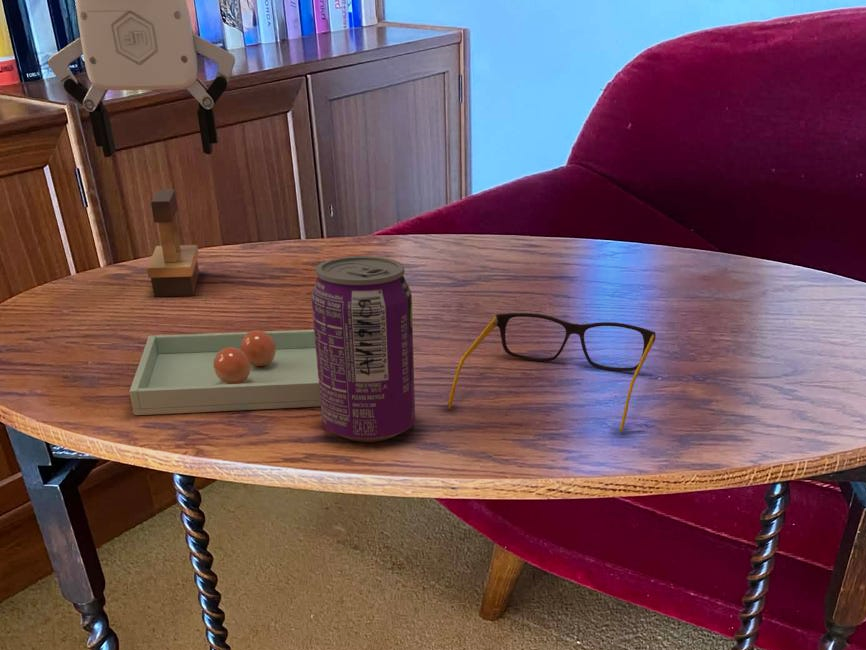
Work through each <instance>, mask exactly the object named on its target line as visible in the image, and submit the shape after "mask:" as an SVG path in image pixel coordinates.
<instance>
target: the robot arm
mask: <svg viewBox="0 0 866 650" xmlns="http://www.w3.org/2000/svg"><path fill="white" fill-rule="evenodd" d="M74 1H75V9H76V10H75V11H76V16H77V24H78V30H79V35H80V36H79V37H78V38H76V39H75V40H74V41H72V42H71V43H69V44H67V45H66V46H64V47H63V48H62V49H60V50H59V51H58V52H56V53H55V54H53V55H52V56H50V57H49V58H48V59H47V65H48V68H50V70H51V71H52V73H53V74H54V75H55V77H56V78H57V80H58V81H59V82H60V83H61V85H62V86H63V89H64V90H65V91H66V93H68V94H69V95H70V97H72V98H73V99H74V100H75V101H77V102H78V103H79V104H80V105H81V106H82V107H83V108H84V110H85V111H87V112H88V115H89V120H90V124H91V129H92V133H93V134H92V135H93V137H94V143H95V146H96V147H98V148H99V147H101V148H102V153H103V157H104V158H111V157H113V155H114V154H115V152H116V144H115V138H114V135H113V129H112V124H111V120H110V115H109V110H108V109H107V108H106V107H105V106H104V102H103V101H104V99H105V96H106V95H107V94H108V91H150V90H152V91H154V90H155V91H157V90H180V89H186V90H187V91H188V93H189V94H190V95H191V96H192V97H193V98H194V99H195V100H196V102H198V103H197V104H198V108H197V110H196V113H197V121H198V126H199V134H200V139H201V145H202V152H203V154H205V155H212V153H213V149H214V147H213V144H218V143H219V141H218V140H219V138H218V133H217V132H218V131H217V125H216V124H217V123H216V118H215V111H214V106H215V104H216V103H217V101H218V100H219V99H220V98H221V97H222V95H223V94H224V93H225V91H226V89H227V88H228V86H229V82H230V79H231V77H232V76H231V75H232V73H233V70H234V66H235V63H236V57H235V55H234V54H233V53H231V52H229V51H227V50H226V49H224V48H222V47H220V46H218V45H216V44H214V43H212V42H211V41H209V40H207V39H205V38H203V37H201V36H200V35H197V33H194V30H193V25H192V20H191V16H190V11H189V6H188V1H187V0H74ZM198 54H199V55H200V56H201V55H202V56H204V57H206V58H207V59H209V60H211V61H213V62H215V63H216V64H217V66H218V67H217V68H218V69H217V73H216V76H215V78H214V80H213V81H212V82H211V84H210V85H209V86H206V84H205V83H204V82H203V81H202V80H201V79H200V78H199V73H200V68H199V67H200V65H199V58H198V57H199V56H198ZM82 56H83V60H84V65H85V71H86V74H87V77H88V80H89V82H90V83H91V86H90V88H87V87H86V86H85V85H84V84H83V83H81V82H80V81H79V80H78V78H76V77H75V75H74V74H73V72H72V71H71V69H70V65H71V64H72V63H73V62H75V61H76V60H77V59H79V58H80V57H82Z"/></svg>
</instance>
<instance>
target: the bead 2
mask: <svg viewBox="0 0 866 650" xmlns="http://www.w3.org/2000/svg"><path fill="white" fill-rule="evenodd" d="M248 332H249V333H247V334H246V335H245V336H244V337H243V339H242V341H241V345H240V350H242V351H243V352H245V353H246V355H247V356H248V358H249V360H250V363H251V365H253V366H256V367H262V366H266V365H268V364H269V363H271V362H272V360H273V359H274V357H275V354H276V345H275V342H274V340H273V339H272V337H271V336H270V335H269V334H267V333H266V332H264V331H263V330H258V329H256V330H250V331H248Z"/></svg>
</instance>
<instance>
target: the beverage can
mask: <svg viewBox="0 0 866 650" xmlns="http://www.w3.org/2000/svg"><path fill="white" fill-rule="evenodd" d="M315 275H316V276H317V278H316V280H315V283H314V287H313V289H312V291H311V309H312V320H313V330H314V333H315V345H316V357H317V368H318V380H319V391H320V403H321V406H320V412H321V423H322V425H323V427H324V428H325V430H327V431H328V432H331V433H333V434H334V435H337V436H340V437H342V438H344V439H347V440H351V441H353V442H362V443H364V442H365V443H372V442H373V443H374V442H381V441H386V440H389V439H392V438H394V437H396V436H398V435H399V434H402V433H403V432H405V431H408V430H409V429H410V428H411V427H412V426H413V425H414V424H415V422H416V402H415V397H416V396H415V395H416V393H415V363H414V360H415V359H414V329H413V327H414V326H413V296H412V295H413V294H412V291H411V288H410V286H409V284H408V283H407V280H406V279H405V276H404V275H405V266H404V264H403V263H401V262H400V261H398V260H395V259H392V258H388V257H382V256H373V255H371V256H370V255H354V256H353V255H352V256H343V257H336V258H335V257H334V258H331V259H328V260H324V261H322V262H320V263H319V264H317V265H316V266H315Z"/></svg>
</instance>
